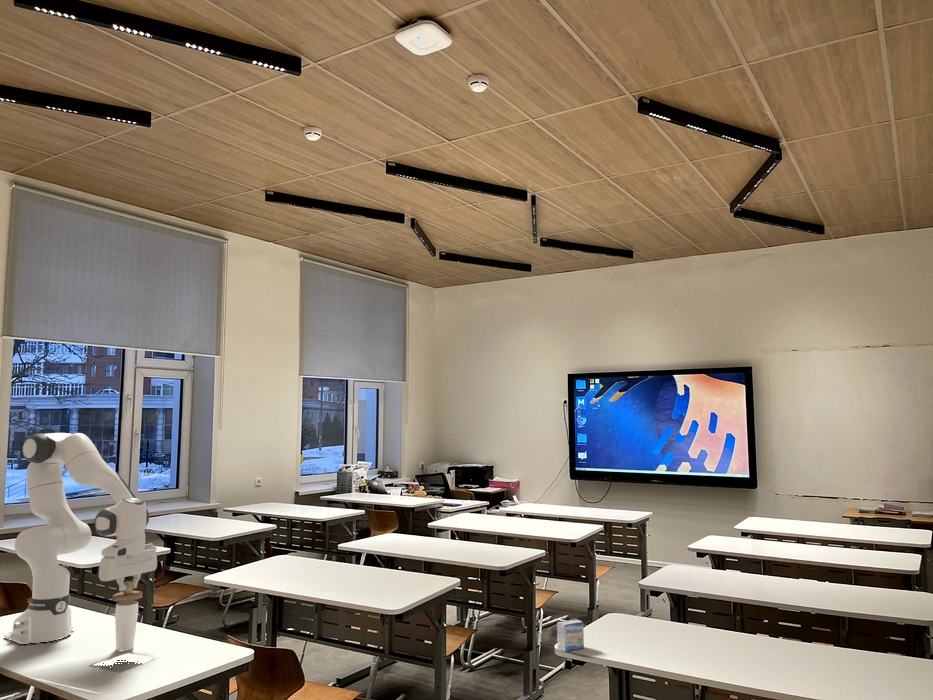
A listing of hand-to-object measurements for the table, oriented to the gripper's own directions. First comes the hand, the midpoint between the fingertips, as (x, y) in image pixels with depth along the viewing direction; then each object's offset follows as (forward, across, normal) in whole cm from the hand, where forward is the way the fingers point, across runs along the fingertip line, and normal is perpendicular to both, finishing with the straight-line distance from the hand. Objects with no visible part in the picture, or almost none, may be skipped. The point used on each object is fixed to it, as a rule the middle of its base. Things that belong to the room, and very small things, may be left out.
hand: (127, 589), depth 224 cm
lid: (+3, 0, 0) cm, 3 cm away
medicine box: (+19, -62, +135) cm, 150 cm away
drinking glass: (+20, 0, 0) cm, 20 cm away
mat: (+19, +9, +11) cm, 24 cm away
